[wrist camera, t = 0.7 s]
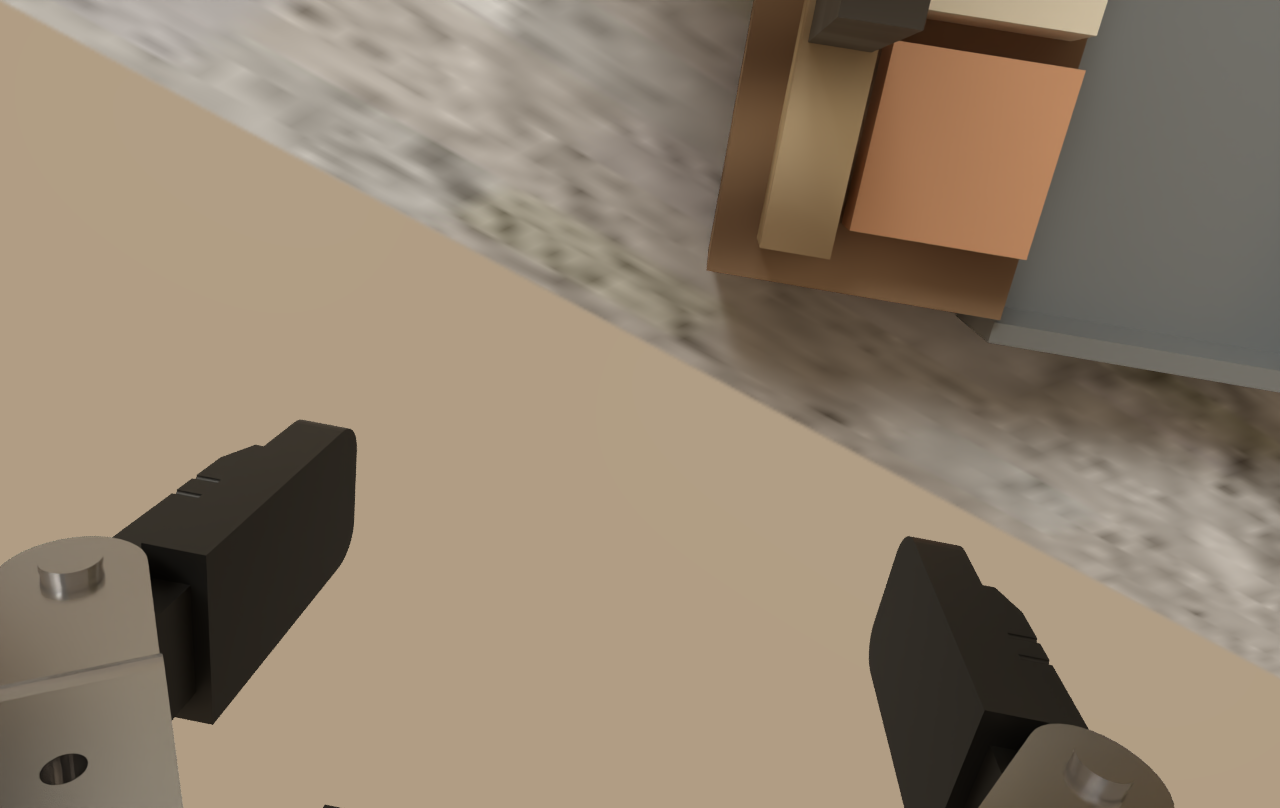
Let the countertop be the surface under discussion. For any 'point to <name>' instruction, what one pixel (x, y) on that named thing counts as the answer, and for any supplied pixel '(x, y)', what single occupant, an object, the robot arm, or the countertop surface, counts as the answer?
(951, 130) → the tile
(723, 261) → the stepped wooden block
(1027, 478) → the countertop surface
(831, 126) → the t-shaped block
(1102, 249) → the box
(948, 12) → the tile
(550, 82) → the countertop surface
